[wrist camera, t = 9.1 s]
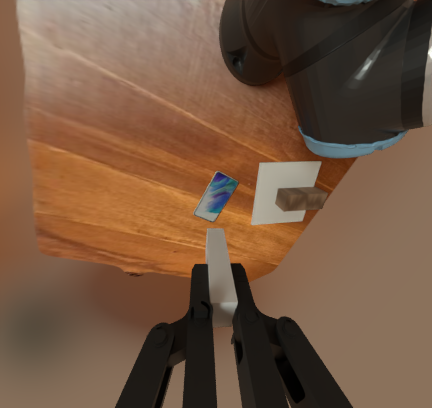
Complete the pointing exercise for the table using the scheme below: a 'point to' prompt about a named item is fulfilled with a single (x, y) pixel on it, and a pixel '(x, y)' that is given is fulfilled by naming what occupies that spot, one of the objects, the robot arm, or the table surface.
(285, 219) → the mat
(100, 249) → the table surface
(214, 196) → the smartphone
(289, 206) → the walnut block
